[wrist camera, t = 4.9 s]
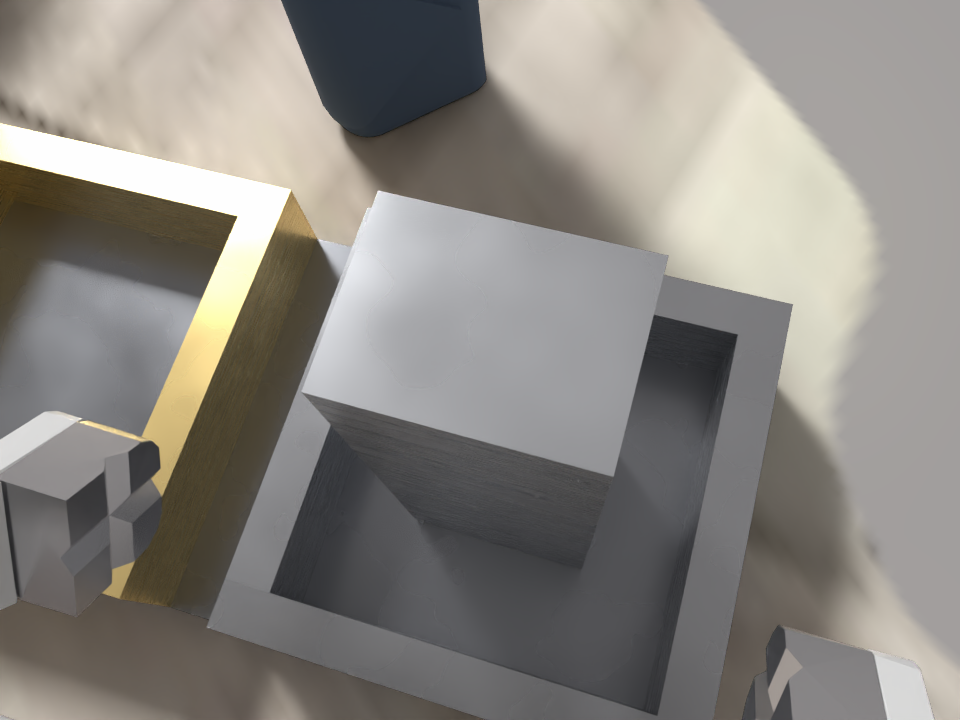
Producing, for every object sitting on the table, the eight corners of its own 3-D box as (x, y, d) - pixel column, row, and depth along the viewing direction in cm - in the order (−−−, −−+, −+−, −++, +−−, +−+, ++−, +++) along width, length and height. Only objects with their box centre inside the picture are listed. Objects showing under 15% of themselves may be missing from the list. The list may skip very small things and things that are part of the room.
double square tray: (673, 768, 19) (699, 789, 15) (-151, 499, 22) (-272, 470, 19) (755, 359, 22) (793, 304, 18) (20, 181, 25) (-58, 109, 22)
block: (581, 569, 19) (613, 477, 10) (417, 521, 20) (301, 392, 11) (612, 446, 20) (668, 255, 11) (454, 404, 21) (378, 190, 11)
